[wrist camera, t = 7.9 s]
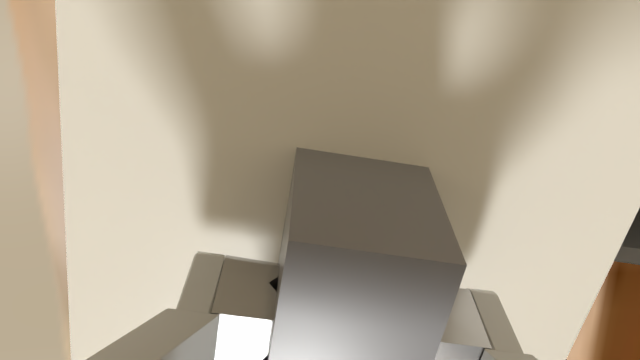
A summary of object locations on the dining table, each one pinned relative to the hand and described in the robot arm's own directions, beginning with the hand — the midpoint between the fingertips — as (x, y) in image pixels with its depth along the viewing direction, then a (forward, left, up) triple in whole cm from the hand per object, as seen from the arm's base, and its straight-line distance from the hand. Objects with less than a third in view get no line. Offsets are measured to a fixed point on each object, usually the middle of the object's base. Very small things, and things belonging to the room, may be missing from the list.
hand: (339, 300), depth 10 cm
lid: (0, 0, -3) cm, 3 cm away
